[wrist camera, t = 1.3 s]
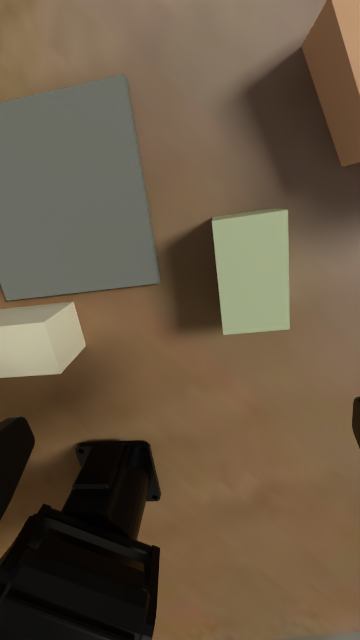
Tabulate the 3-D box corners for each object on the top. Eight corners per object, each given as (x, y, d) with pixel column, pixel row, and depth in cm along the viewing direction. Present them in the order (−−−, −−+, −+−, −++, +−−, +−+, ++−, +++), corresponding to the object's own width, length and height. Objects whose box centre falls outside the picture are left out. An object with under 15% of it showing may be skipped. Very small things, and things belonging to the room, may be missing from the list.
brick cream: (74, 301, 21) (43, 322, 17) (86, 345, 22) (60, 373, 18) (-1, 309, 22) (-46, 330, 18) (14, 351, 23) (-24, 379, 19)
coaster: (161, 281, 19) (159, 283, 19) (12, 298, 21) (6, 300, 21) (126, 78, 16) (123, 73, 15) (-53, 119, 17) (-62, 117, 17)
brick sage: (275, 305, 19) (289, 329, 16) (221, 310, 20) (223, 334, 16) (272, 208, 17) (287, 209, 14) (212, 217, 18) (211, 221, 14)
